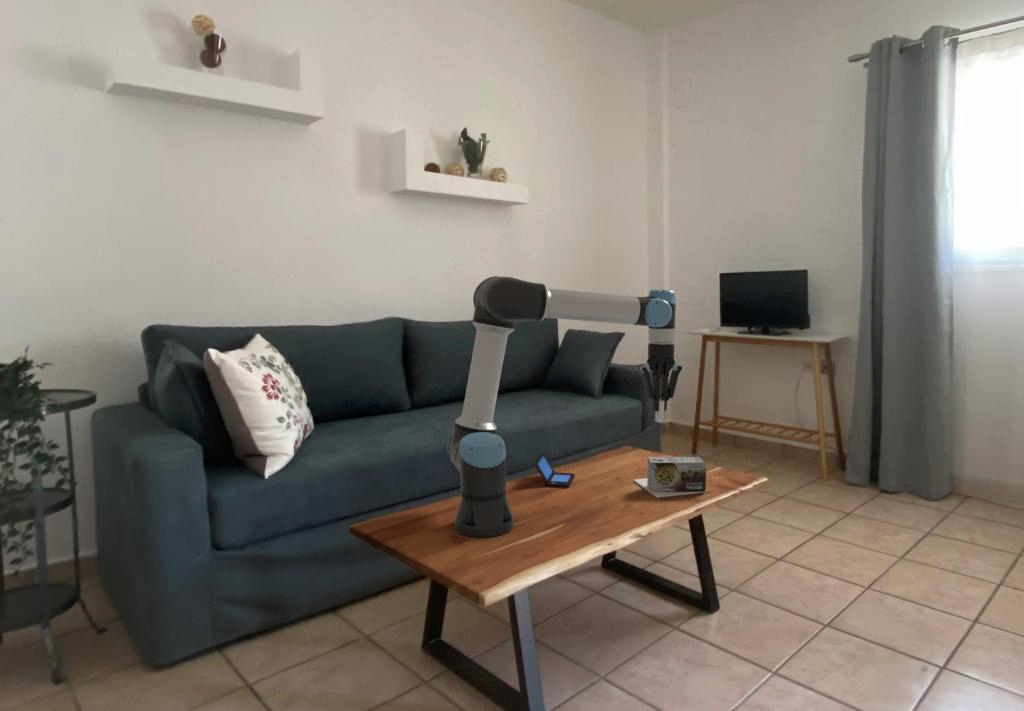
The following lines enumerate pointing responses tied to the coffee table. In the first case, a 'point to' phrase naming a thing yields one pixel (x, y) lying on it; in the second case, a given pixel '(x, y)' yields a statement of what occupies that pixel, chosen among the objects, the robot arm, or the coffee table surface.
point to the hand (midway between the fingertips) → (659, 421)
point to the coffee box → (676, 474)
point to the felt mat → (660, 494)
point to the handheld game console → (553, 474)
